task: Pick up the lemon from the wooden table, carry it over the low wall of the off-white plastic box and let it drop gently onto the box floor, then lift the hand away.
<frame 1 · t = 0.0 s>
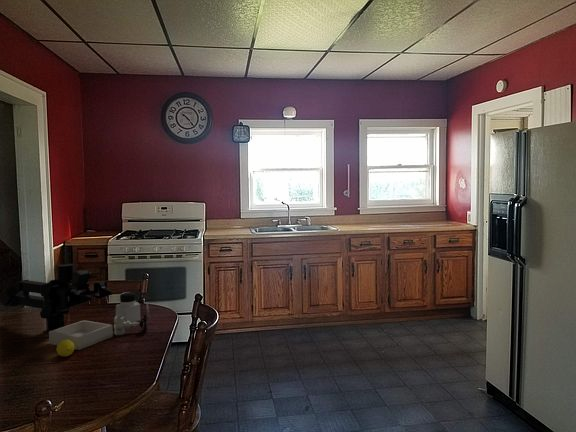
hand: (101, 296, 159), 17 cm above the table, tool horizontal, fingers open, 9 cm apart
medicine bottle: (128, 321, 184), on the table
valve: (130, 333, 169), on the table
lemon: (66, 356, 145), on the table
walled box: (81, 340, 160), on the table
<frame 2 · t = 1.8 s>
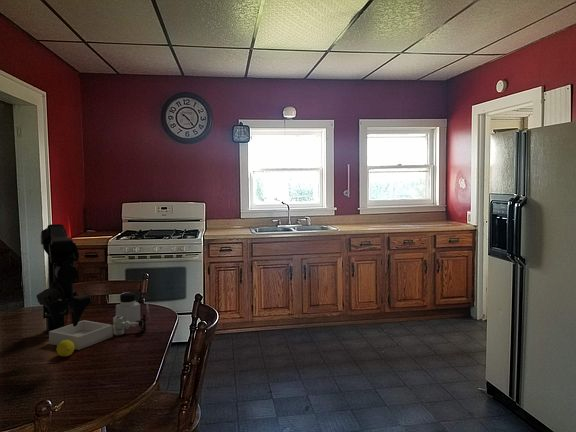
hand: (65, 324, 145), 11 cm above the table, tool pointing down, fingers open, 9 cm apart
nothing on the table moved.
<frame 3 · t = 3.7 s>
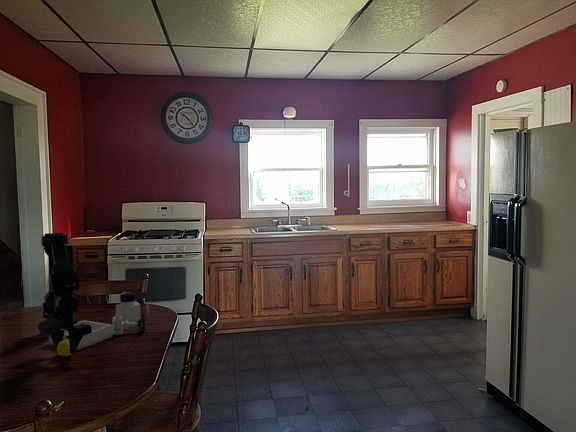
hand: (65, 352, 145), 1 cm above the table, tool pointing down, fingers closed on lemon, 6 cm apart
lemon: (66, 356, 145), on the table, touching gripper
everything else where it was.
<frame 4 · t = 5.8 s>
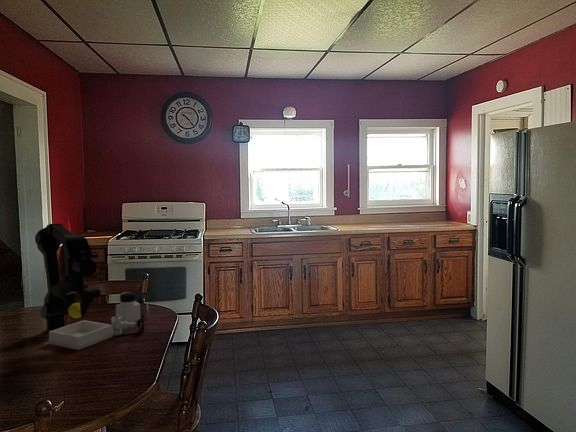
hand: (76, 314, 156), 11 cm above the table, tool pointing down, fingers closed on lemon, 6 cm apart
lemon: (76, 318, 156), point 9 cm above the table, touching gripper
everything else where it was.
when the fingers open (5 cm above the table, at t = 8.1 s): lemon drops 3 cm, resting on walled box.
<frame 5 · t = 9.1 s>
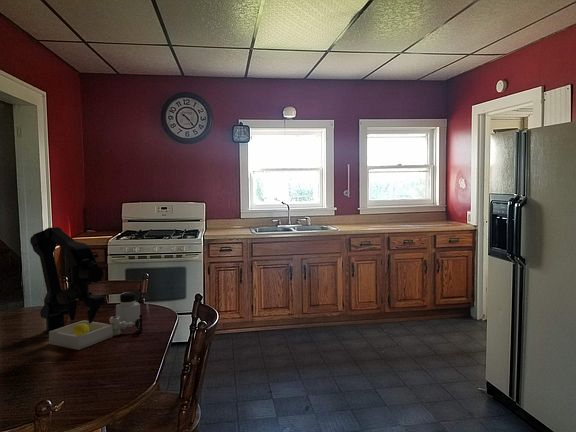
hand: (81, 321, 160), 7 cm above the table, tool pointing down, fingers open, 9 cm apart
lemon: (81, 338, 160), point 1 cm above the table, touching walled box
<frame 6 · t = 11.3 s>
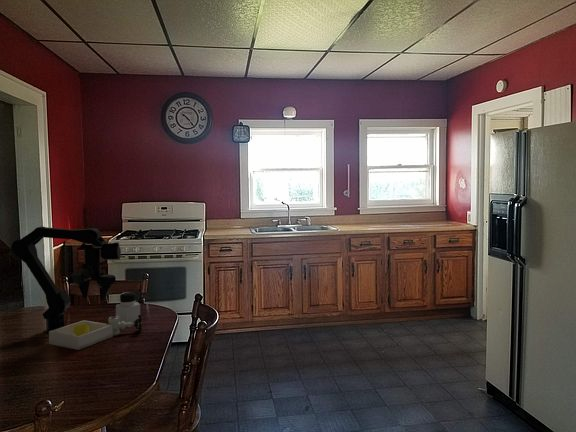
hand: (93, 299, 172), 12 cm above the table, tool pointing down, fingers open, 9 cm apart
at the end: lemon inside the target area on the walled box (0.2 cm from its centre), point 0.8 cm above the walled box's base; the gripper is holding nothing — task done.
